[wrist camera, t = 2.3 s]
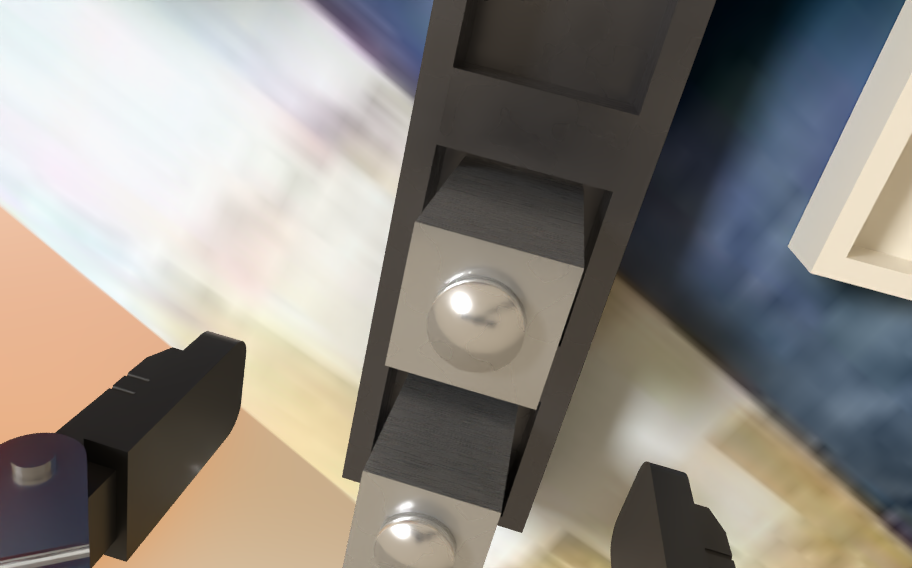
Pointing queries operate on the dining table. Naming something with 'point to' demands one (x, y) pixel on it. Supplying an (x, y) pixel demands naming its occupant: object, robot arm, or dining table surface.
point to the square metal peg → (433, 480)
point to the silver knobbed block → (490, 281)
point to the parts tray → (868, 183)
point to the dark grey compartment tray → (535, 165)
